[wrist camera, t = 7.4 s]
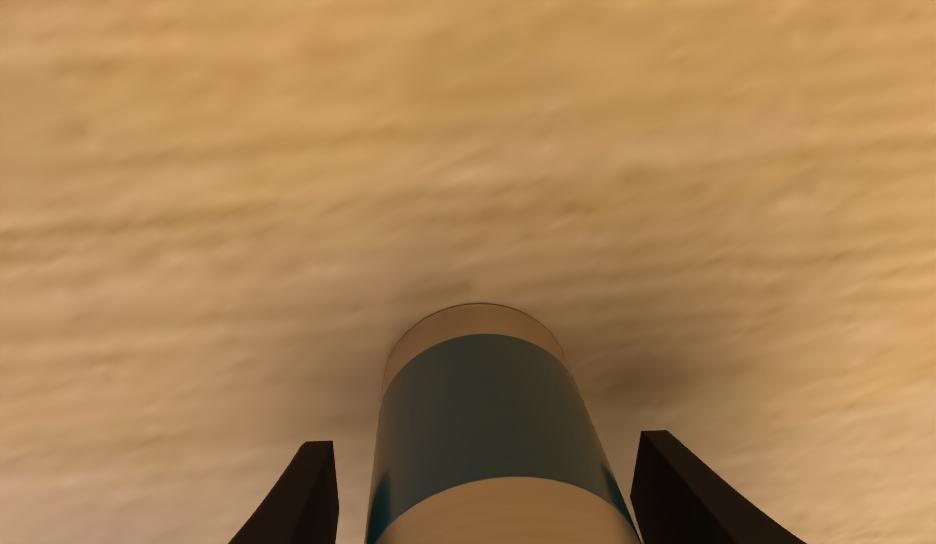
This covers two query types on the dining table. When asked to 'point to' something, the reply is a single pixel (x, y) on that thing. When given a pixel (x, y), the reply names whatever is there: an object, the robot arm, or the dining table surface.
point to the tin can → (488, 440)
